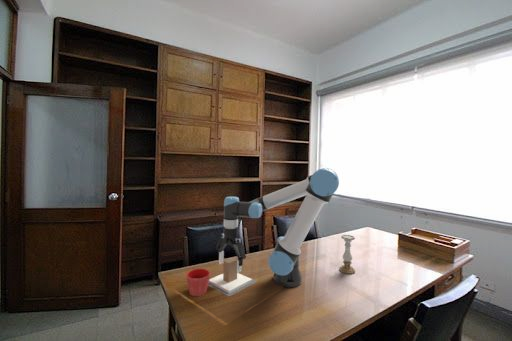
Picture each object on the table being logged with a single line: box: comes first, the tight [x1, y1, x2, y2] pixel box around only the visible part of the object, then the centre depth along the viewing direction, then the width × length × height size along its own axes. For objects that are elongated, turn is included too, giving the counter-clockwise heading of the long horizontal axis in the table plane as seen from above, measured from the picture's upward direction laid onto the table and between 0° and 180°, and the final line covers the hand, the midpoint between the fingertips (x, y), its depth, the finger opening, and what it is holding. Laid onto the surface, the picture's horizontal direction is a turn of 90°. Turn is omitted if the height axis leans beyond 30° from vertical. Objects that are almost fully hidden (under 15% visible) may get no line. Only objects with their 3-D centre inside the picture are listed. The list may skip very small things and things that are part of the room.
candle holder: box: [338, 234, 356, 275], centre depth 144 cm, size 9×9×20 cm
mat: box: [208, 273, 258, 297], centre depth 127 cm, size 20×20×1 cm
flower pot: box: [186, 268, 211, 297], centre depth 117 cm, size 11×11×10 cm
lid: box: [209, 257, 253, 293], centre depth 127 cm, size 16×16×11 cm
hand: (229, 267), depth 127 cm, fingers open, 13 cm apart
